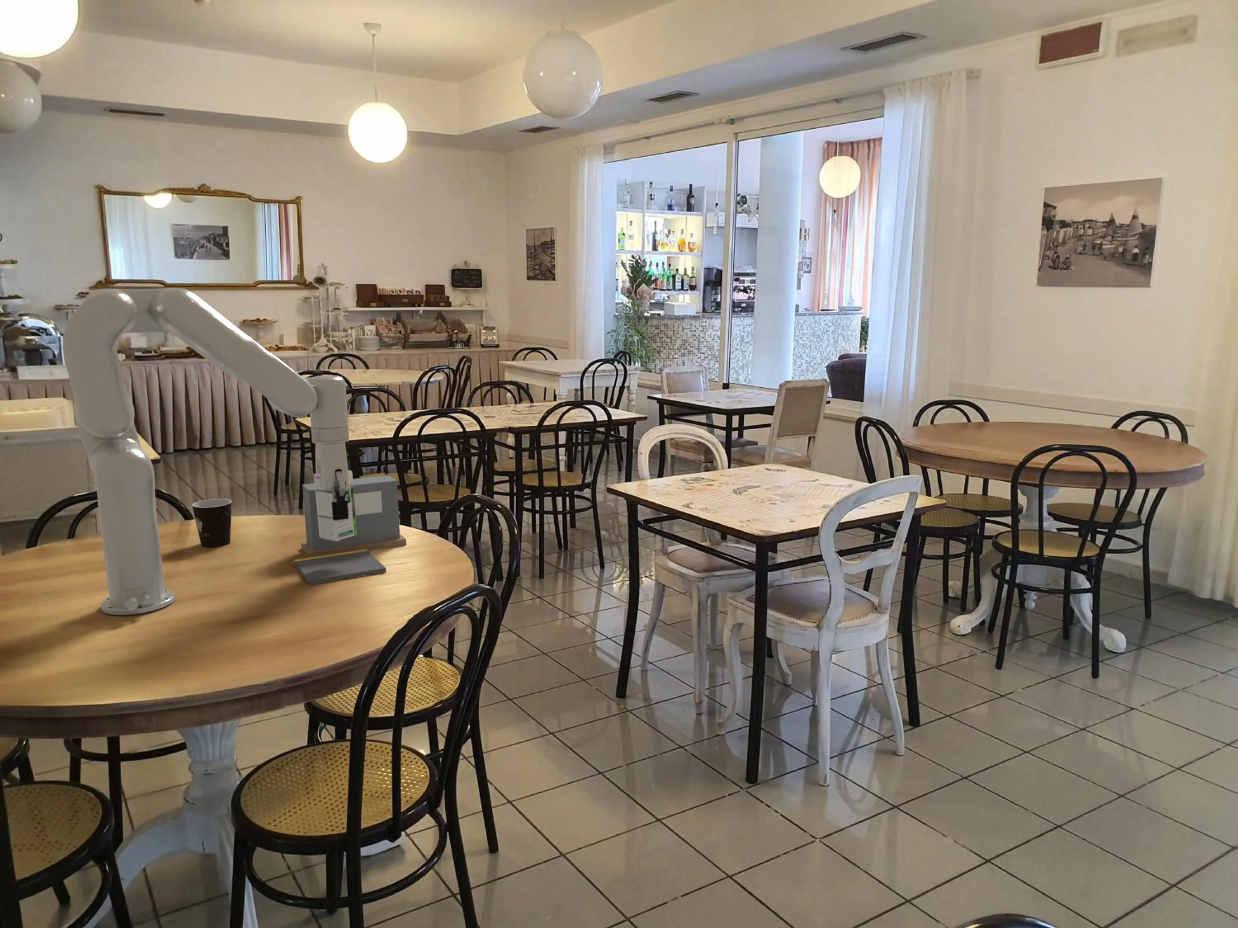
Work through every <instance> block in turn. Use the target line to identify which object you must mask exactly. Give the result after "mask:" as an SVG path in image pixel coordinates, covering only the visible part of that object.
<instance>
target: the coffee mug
mask: <svg viewBox="0 0 1238 928" xmlns="http://www.w3.org/2000/svg"><path fill="white" fill-rule="evenodd" d="M232 502H233V501H232V500H231V499H229V498H212V499H204V500H199V501H196V502H193V503H192V505H191V507H192V512H193V515H194V520H195V521H194V522H195V523H196V524H195V525H196V528H197V532H198V533H197V534H198V537H199V540H200V546H201V547H203V548H209V549H210V548H213V549H214V548H220V547H224V546H227V545H229V544H230V543H231V531H232Z"/></svg>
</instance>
